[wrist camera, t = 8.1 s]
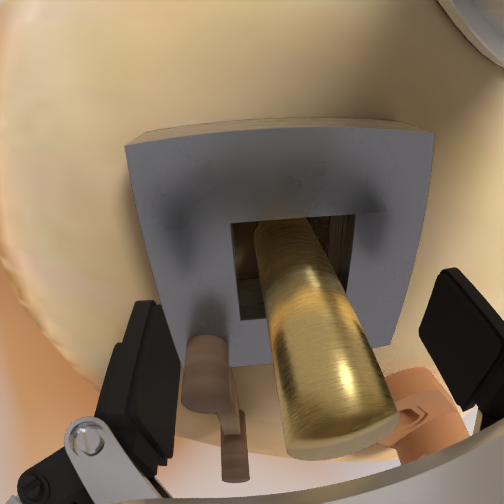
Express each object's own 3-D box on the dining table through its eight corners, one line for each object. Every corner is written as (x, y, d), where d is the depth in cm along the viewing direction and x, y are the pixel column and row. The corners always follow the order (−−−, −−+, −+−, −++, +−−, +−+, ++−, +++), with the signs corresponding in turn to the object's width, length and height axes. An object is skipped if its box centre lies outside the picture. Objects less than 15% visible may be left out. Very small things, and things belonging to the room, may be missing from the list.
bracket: (455, 401, 28) (475, 443, 22) (401, 435, 31) (416, 478, 25) (415, 353, 21) (450, 421, 15) (334, 405, 24) (352, 473, 18)
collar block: (146, 131, 12) (124, 145, 9) (397, 121, 12) (434, 133, 9) (187, 329, 17) (183, 369, 15) (371, 309, 17) (389, 344, 15)
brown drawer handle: (188, 295, 16) (175, 390, 11) (225, 292, 16) (227, 388, 11) (222, 420, 23) (223, 483, 18) (245, 419, 23) (250, 482, 18)
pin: (252, 212, 14) (289, 424, 5) (313, 207, 14) (416, 396, 5) (255, 264, 15) (284, 466, 7) (310, 259, 15) (381, 446, 7)
